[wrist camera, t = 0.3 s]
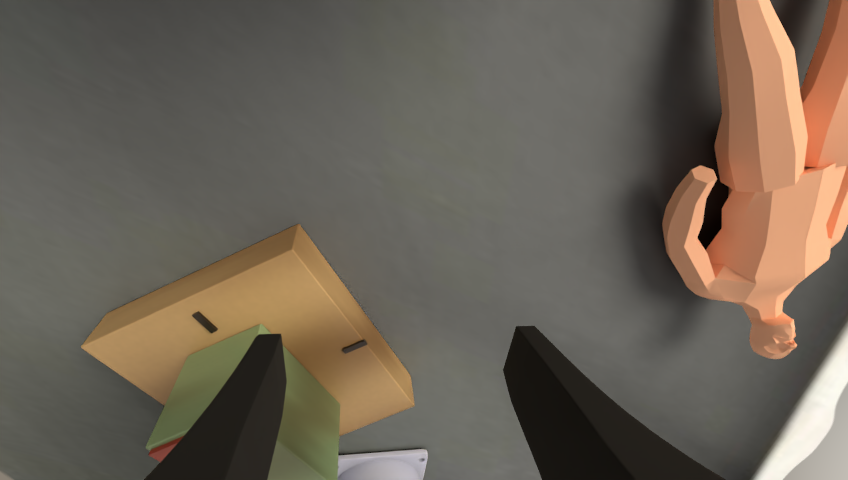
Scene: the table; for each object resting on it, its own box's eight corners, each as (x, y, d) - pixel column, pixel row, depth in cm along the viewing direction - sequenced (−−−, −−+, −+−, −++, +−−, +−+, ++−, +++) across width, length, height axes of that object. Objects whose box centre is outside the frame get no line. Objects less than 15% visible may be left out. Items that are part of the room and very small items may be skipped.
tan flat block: (411, 374, 28) (416, 407, 26) (262, 436, 29) (254, 472, 27) (300, 221, 20) (293, 250, 18) (104, 313, 21) (75, 351, 19)
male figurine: (1061, -227, 12) (879, 340, 24) (877, -158, 16) (800, 293, 28) (720, -94, 13) (706, 396, 24) (630, -61, 17) (655, 341, 29)
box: (341, 403, 24) (337, 494, 20) (277, 429, 25) (260, 523, 20) (261, 322, 20) (235, 414, 16) (187, 355, 21) (141, 454, 16)
